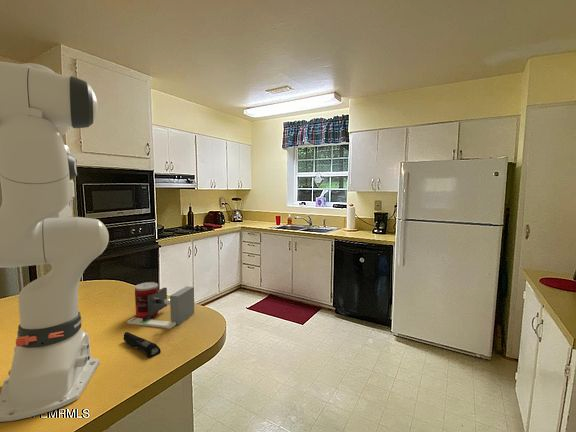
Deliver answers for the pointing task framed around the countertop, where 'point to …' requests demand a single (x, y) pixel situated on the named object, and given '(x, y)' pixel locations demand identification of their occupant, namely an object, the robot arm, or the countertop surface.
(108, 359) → the countertop surface
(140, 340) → the electric trimmer
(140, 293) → the canned food
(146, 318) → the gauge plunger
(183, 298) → the push gauge
